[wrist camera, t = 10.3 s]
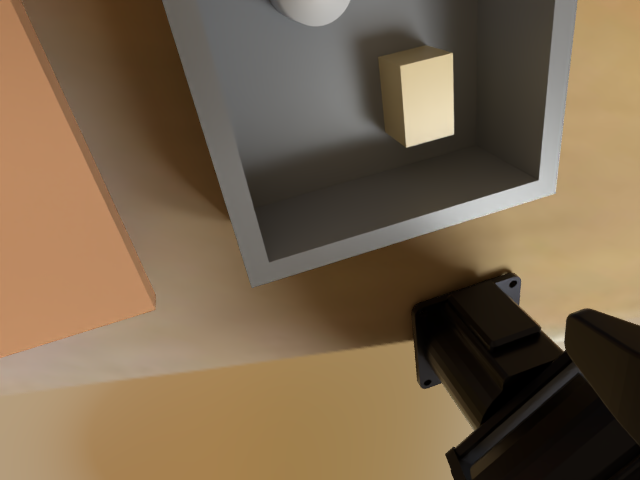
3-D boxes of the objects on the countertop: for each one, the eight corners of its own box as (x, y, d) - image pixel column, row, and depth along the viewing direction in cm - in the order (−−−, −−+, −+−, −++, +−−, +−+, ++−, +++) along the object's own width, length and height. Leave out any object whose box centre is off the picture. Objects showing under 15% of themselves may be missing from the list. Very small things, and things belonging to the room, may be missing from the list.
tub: (481, 151, 22) (555, 193, 18) (233, 222, 20) (251, 288, 16) (487, -182, 16) (604, -235, 12) (127, -121, 14) (112, -159, 10)
